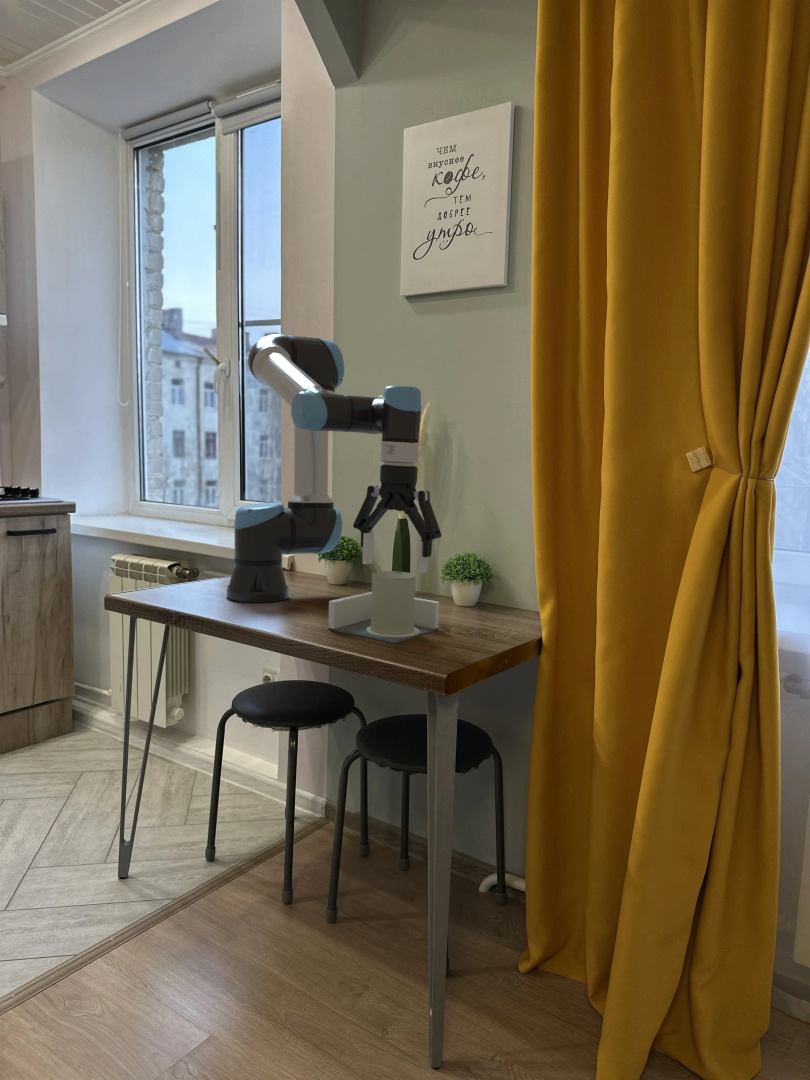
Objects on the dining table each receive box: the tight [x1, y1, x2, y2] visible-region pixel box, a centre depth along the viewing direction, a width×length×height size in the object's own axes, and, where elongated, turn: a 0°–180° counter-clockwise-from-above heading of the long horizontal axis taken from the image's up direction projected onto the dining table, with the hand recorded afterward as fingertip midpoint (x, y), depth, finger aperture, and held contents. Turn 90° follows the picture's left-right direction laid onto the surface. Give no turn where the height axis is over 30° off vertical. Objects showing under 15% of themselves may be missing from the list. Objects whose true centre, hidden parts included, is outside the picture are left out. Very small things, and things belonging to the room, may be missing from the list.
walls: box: [327, 591, 440, 632], centre depth 155 cm, size 17×16×6 cm
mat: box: [327, 619, 439, 644], centre depth 156 cm, size 17×16×1 cm
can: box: [370, 570, 417, 635], centre depth 152 cm, size 9×9×12 cm
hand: (394, 568), depth 152 cm, fingers open, 13 cm apart
